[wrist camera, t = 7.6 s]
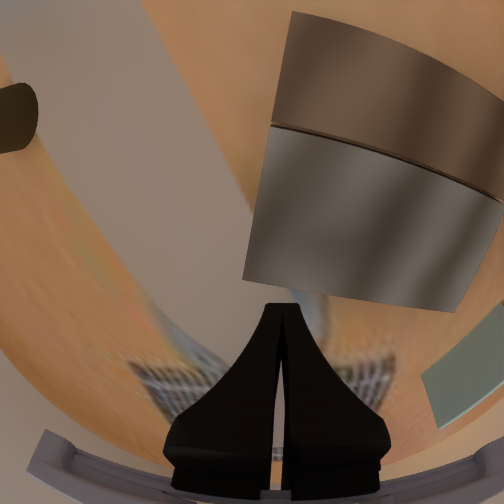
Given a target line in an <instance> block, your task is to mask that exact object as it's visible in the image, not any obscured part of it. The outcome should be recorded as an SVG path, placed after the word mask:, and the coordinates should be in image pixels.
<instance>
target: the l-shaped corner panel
mask: <svg viewBox="0 0 504 504" xmlns="http://www.w3.org/2000/svg"><path fill="white" fill-rule="evenodd" d="M421 377H422V380H423V383H424V386H425V389H426V392H427V395H428V398H429V401H430V404H431V407H432V411H433V414H434V417H435V421H436V424H437V428H438V429H443V428H444V427H446V426H447V425H449V424H451V423H452V422H454V421H455V420H457V419H458V418H460V417H461V416H462V415H464V414H465V413H467V412H468V411H470V410H471V409H472V408H474V407H475V406H476V405H478V404H479V403H480V402H482V401H483V400H484V399H486V398H487V397H488V396H489V395H491V394H492V393H493V392H494V391H495V390H497V389H498V388H499V387H500V386H501V385H503V384H504V306H503V305H502V303H501V302H499V303H498V304H497V305H496V306H495V307H494V309H493V310H492V311H491V312H490V313H489V314H488V315H487V316H486V317H485V318H484V319H483V320H482V321H481V322H480V323H479V324H478V325H477V326H476V327H475V328H474V329H473V330H472V331H471V332H470V333H469V334H468V335H467V336H466V337H465V338H463V339H462V340H461V341H460V342H459V343H458V344H457V345H456V346H455V347H454V348H452V349H451V350H450V351H449V352H448V353H447V354H445V355H444V356H443V357H442V358H441V359H440V360H438V361H437V362H436V363H435V364H433V365H432V366H431V367H430V368H428V369H427V370H426V371H425V372H423V373H422V374H421Z"/></svg>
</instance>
